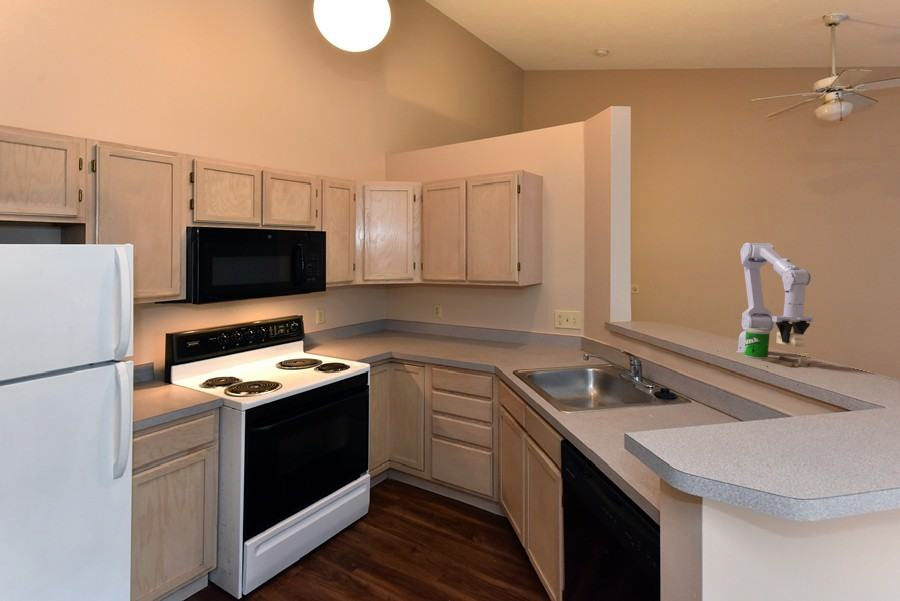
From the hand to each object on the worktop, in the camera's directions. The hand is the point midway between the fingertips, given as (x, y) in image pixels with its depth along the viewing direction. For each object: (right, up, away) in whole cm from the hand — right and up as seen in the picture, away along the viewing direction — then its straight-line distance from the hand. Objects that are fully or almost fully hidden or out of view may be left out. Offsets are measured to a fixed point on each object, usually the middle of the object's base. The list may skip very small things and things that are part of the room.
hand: (791, 342), depth 174 cm
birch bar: (0, -1, 0) cm, 1 cm away
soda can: (-6, -8, +11) cm, 14 cm away
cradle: (+4, -8, +2) cm, 9 cm away
